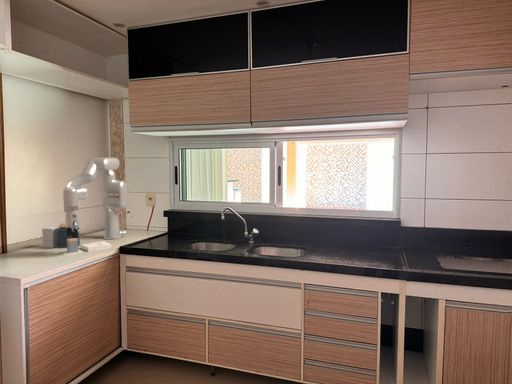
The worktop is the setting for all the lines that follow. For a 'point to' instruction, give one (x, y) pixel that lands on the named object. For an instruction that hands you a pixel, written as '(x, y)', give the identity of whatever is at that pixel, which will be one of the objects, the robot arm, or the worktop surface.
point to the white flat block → (95, 246)
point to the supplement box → (50, 237)
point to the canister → (64, 236)
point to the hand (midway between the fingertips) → (72, 236)
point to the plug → (72, 245)
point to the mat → (72, 253)
